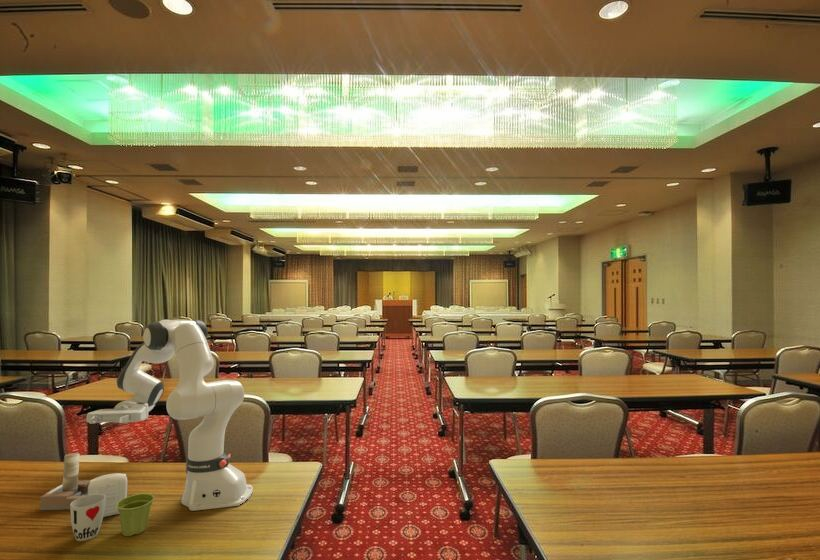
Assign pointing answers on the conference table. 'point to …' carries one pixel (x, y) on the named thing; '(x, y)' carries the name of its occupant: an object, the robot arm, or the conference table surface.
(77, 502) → the cup
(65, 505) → the keyhole dock
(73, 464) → the beige tall cylinder
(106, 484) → the photo printer
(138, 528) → the plant pot
